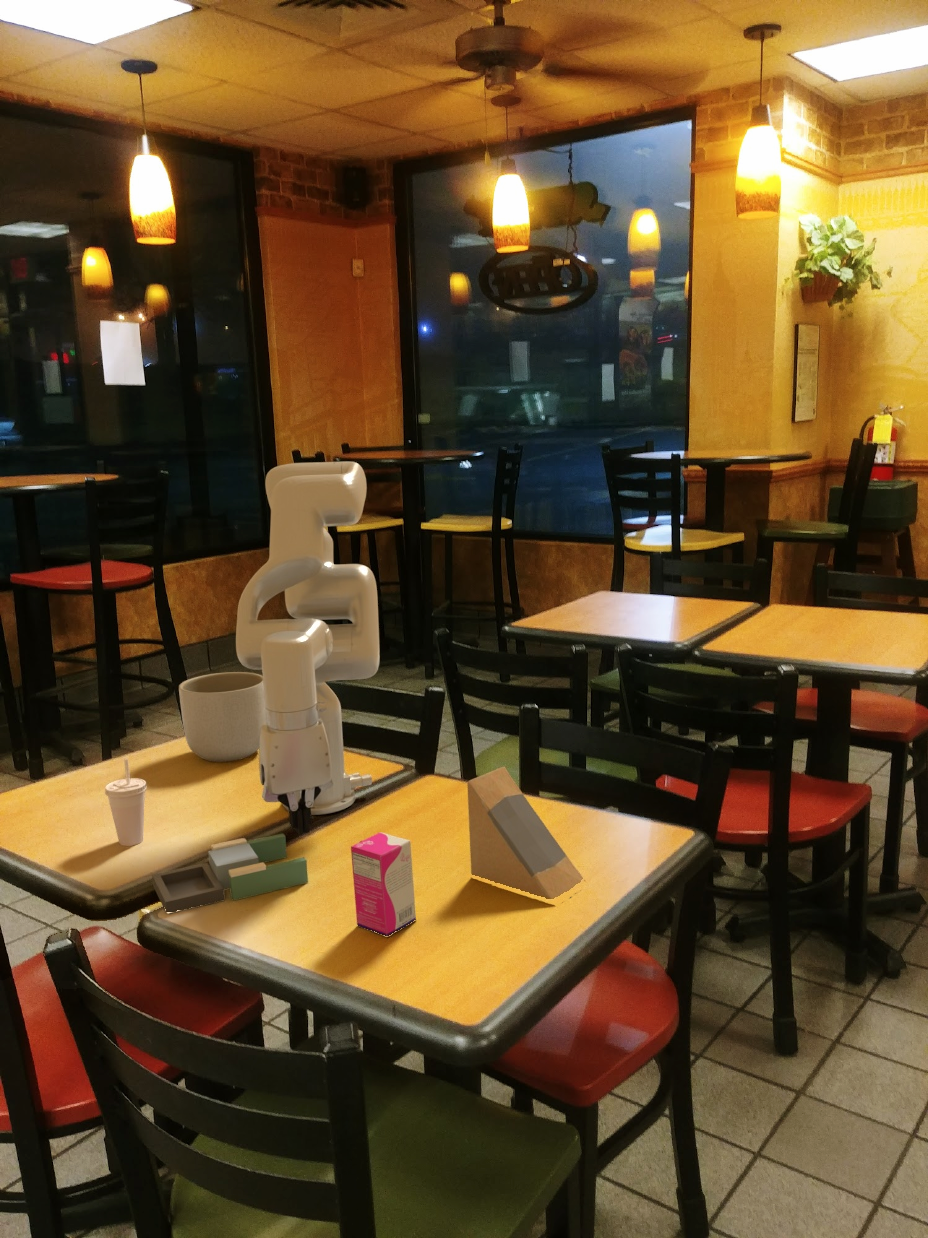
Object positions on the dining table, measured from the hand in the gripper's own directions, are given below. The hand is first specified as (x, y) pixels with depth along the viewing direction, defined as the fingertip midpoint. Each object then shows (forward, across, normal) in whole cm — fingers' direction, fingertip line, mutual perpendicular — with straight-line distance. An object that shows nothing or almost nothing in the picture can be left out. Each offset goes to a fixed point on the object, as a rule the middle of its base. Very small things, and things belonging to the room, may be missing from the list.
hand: (301, 830), depth 155 cm
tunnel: (+5, +7, +2) cm, 9 cm away
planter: (+9, -3, -58) cm, 59 cm away
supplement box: (+4, -3, +25) cm, 25 cm away
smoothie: (+6, +22, -22) cm, 32 cm away
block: (+5, +11, 0) cm, 12 cm away
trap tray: (+5, +18, +2) cm, 18 cm away
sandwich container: (+5, -26, +24) cm, 36 cm away
